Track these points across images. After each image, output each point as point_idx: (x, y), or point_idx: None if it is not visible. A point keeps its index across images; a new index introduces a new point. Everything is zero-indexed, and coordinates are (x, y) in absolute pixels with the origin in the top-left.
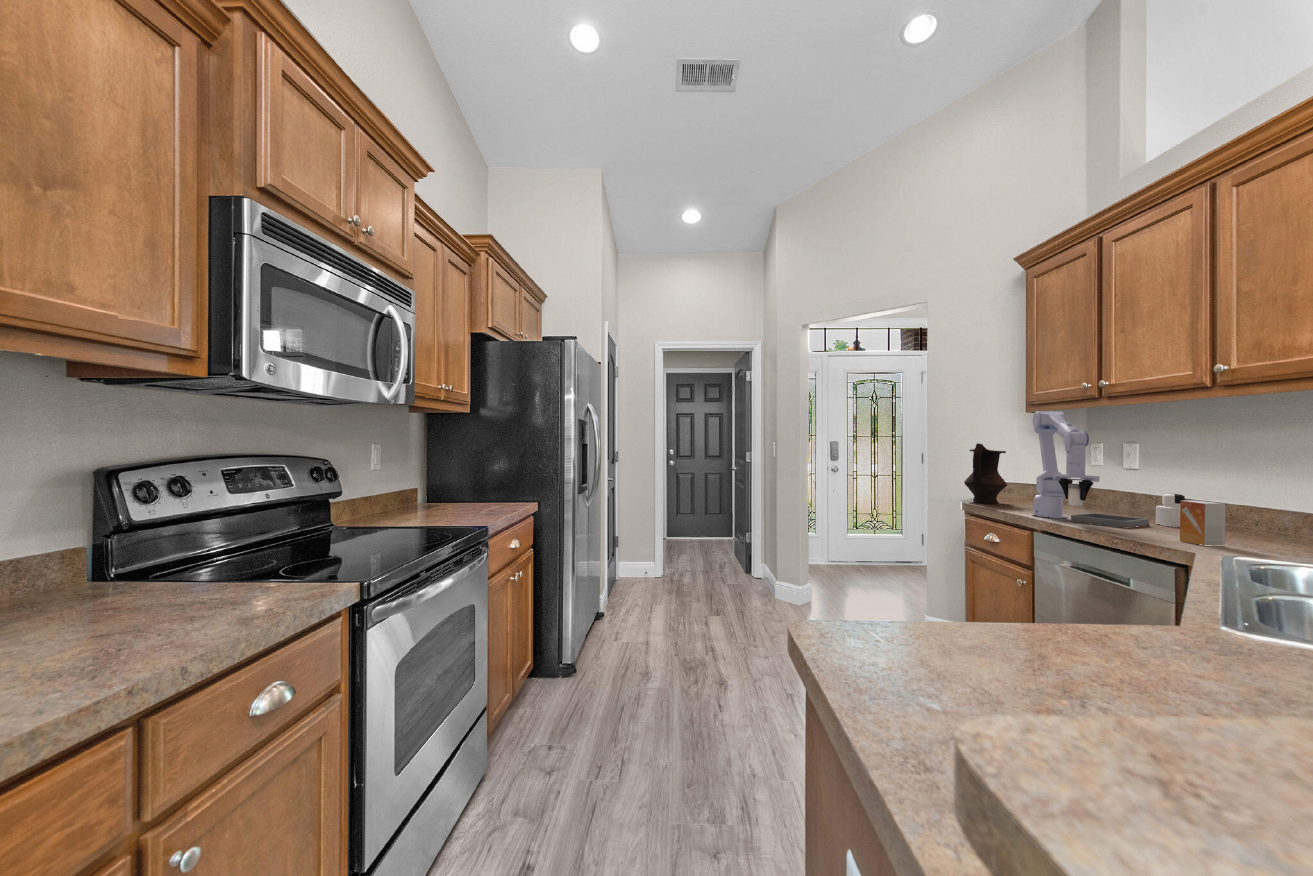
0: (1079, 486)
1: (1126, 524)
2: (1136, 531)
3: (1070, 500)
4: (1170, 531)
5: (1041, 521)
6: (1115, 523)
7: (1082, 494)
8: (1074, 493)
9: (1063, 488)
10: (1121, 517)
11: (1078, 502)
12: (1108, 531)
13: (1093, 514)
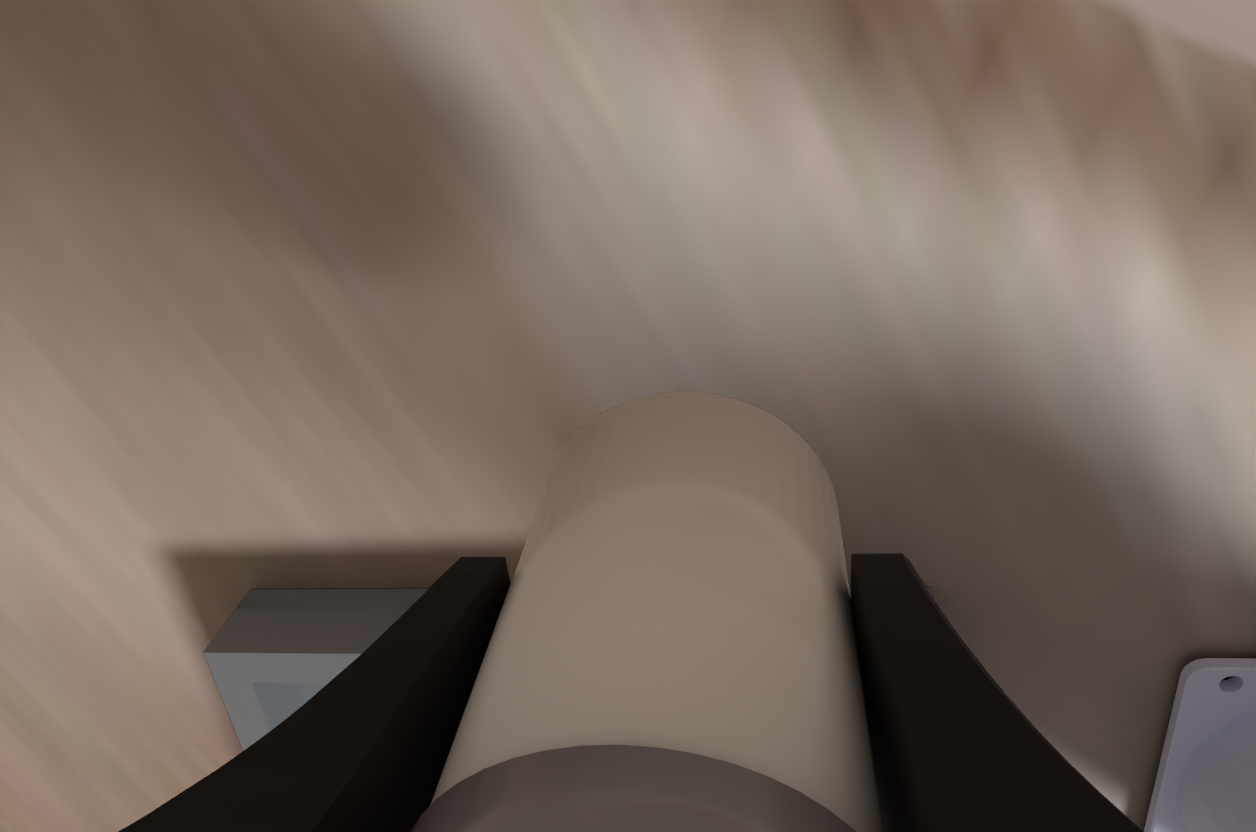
0: None
1: (229, 625)
2: (43, 461)
3: (718, 464)
4: (47, 767)
5: (1233, 128)
6: (351, 623)
7: (371, 646)
8: (573, 610)
9: (1029, 775)
10: None
11: (548, 490)
12: (37, 66)
13: None
